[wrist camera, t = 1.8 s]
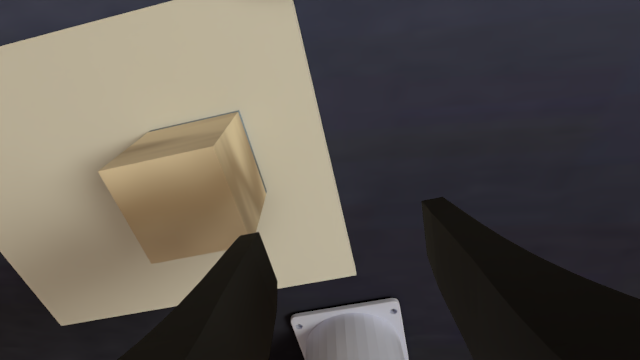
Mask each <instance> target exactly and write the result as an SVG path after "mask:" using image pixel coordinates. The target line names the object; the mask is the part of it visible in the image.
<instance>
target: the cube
mask: <svg viewBox="0 0 640 360" xmlns="http://www.w3.org/2000/svg"><path fill="white" fill-rule="evenodd" d="M98 173H99V174H100V176H101V178H102V180H103V181H104V183H105V185H106V187H107V188H108V190H109V192H110V193H111V195H112V197H113V199H114V200H115V202H116V204H117V205H118V207H119V209H120V211H121V212H122V214H123V216H124V218H125V219H126V221H127V223H128V224H129V226H130V228H131V230H132V231H133V233H134V235H135V237H136V238H137V240H138V242H139V243H140V245H141V247H142V249H143V250H144V252H145V254H146V255H147V257H148V259H149V261H150V262H151V264H154V263H160V262H165V261H170V260H176V259H181V258H187V257H192V256H197V255H203V254H208V253H213V252H219V251H224V250H228V248H229V247H230V246H231V245H232V244H233V243H234V241H235V240H236V239H237V238H238V237H239V236H240V235H245V234H251V233H256V230H257V227H258V223H259V219H260V216H261V212H262V208H263V205H264V201H265V197H266V193H267V190H266V187H265V184H264V181H263V179H262V176H261V173H260V170H259V167H258V164H257V161H256V158H255V155H254V152H253V149H252V146H251V143H250V140H249V137H248V134H247V131H246V129H245V126H244V123H243V120H242V117H241V114H240V111H239V110H238V111H233V112H229V113H225V114H220V115H216V116H211V117H207V118H203V119H198V120H194V121H189V122H185V123H181V124H176V125H172V126H167V127H163V128H159V129H154V130H150V131H149V132H148V133H146V134H145V135H144V136H143V137H141V138H140V139H139V140H137V141H136V142H135V143H134V144H132V145H131V146H130V147H128V148H127V149H126V150H125V151H123V152H122V153H121V154H119V155H118V156H117V157H116V158H114V159H113V160H112V161H110V162H109V163H108V164H107V165H105V166H104V167H103V168H101V169H100V170H99V171H98Z"/></svg>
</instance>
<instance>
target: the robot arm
mask: <svg viewBox="0 0 640 360" xmlns="http://www.w3.org/2000/svg"><path fill="white" fill-rule="evenodd" d="M422 211H423V220H424V230H425V239H426V248H427V256H428V259H429V262H430V265H431V268H432V271H433V274H434V276H435V279H436V282H437V285H438V287H439V289H440V291H441V293H442V295H443V298H444V300H445V302H446V304H447V306H448V308H449V310H450V312H451V314H452V316H453V318H454V320H455V322H456V324H457V326H458V328H459V330H460V332H461V334H462V336H463V339H464V341H465V343H466V345H467V347H468V349H469V351H470V353H471V355H472V357H473V359H474V360H640V299H638V298H635V297H632V296H629V295H627V294H624V293H621V292H619V291H616V290H614V289H611V288H609V287H606V286H604V285H601V284H598V283H596V282H593V281H591V280H588V279H586V278H584V277H581V276H579V275H577V274H574V273H572V272H570V271H568V270H566V269H563V268H561V267H559V266H557V265H555V264H553V263H551V262H549V261H546V260H544V259H542V258H540V257H538V256H536V255H534V254H532V253H531V252H529V251H527V250H525V249H523V248H521V247H520V246H518V245H516V244H514V243H512V242H511V241H509V240H507V239H505V238H504V237H502V236H500V235H499V234H497V233H495V232H494V231H492V230H491V229H489V228H488V227H486V226H484V225H483V224H481V223H480V222H478V221H477V220H475V219H474V218H472V217H471V216H469V215H468V214H466V213H465V212H464V211H462V210H461V209H459V208H458V207H456V206H455V205H454V204H452V203H451V202H449V201H448V200H446V199H445V198H443V197H440V198H435V199H430V200H424V201H422ZM277 283H278V281H277V278H276V276H275V273H274V270H273V268H272V265H271V262H270V260H269V257H268V254H267V252H266V249H265V247H264V244H263V241H262V239H261V236H260V233H259V232H256V233H251V234H245V235H240V236H239V237H238V238H237V239H236V240H235V241H234V243H233V244H232V245H231V246H230V247H229V248H228V250H227V251H226V252H225V253H224V254H223V255H222V257H221V258H220V259H219V260H218V261H217V263H216V264H215V265H214V266H213V267H212V268H211V269H210V271H209V272H208V273H207V274H206V275H205V276H204V278H203V279H202V280H201V281H200V282H199V283H198V284H197V285H196V286H195V288H194V289H193V290H192V291H191V292H190V293H189V294H188V295H187V296H186V297H185V298H184V299H183V300H182V301H181V302H180V303H179V305H178V306H177V307H176V308H175V309H174V310H173V311H172V312H171V313H170V314H169V315H168V316H167V317H166V318H165V319H164V320H163V321H161V322H160V323H159V324H158V325H157V326H156V327H155V328H154V329H153V330H152V331H151V332H150V333H148V334H147V335H146V336H145V337H144V338H143V339H142V340H141V341H139V342H138V343H137V344H136V345H135V346H134V347H132V348H131V349H130V350H129V351H127V352H126V353H125V354H124V355H123V356H121V357H120V358H119V359H118V360H269V355H270V349H271V343H272V337H273V331H274V325H275V319H276V312H277ZM392 309H394V310H392ZM298 324H300V325H298ZM291 325H292V327H293V330H294V333H295V335H296V338H297V340H298V343H299V346H300V348H301V351H302V354H303V356H304V359H305V360H409V358H408V353H407V347H406V341H405V335H404V329H403V323H402V317H401V311H400V305H399V301H398V300H397V299H395V298H388V299H382V300H376V301H370V302H364V303H358V304H351V305H345V306H339V307H333V308H327V309H321V310H315V311H309V312H303V313H296V314H293V315H292V316H291Z"/></svg>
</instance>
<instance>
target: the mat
mask: <svg viewBox="0 0 640 360" xmlns="http://www.w3.org/2000/svg"><path fill="white" fill-rule="evenodd" d="M238 110H239V111H240V114H241V117H242V120H243V123H244V126H245V129H246V131H247V134H248V137H249V140H250V143H251V146H252V149H253V152H254V155H255V158H256V161H257V164H258V167H259V170H260V173H261V176H262V179H263V181H264V184H265V187H266V190H267V193H266V197H265V201H264V205H263V208H262V212H261V216H260V219H259V223H258V227H257V230H256V232H259V233H260V236H261V239H262V241H263V244H264V247H265V249H266V252H267V254H268V257H269V260H270V262H271V265H272V268H273V270H274V273H275V276H276V278H277V281H278V283H277V289H278V288H284V287H290V286H296V285H302V284H308V283H313V282H319V281H325V280H331V279H337V278H342V277H348V276H354V275H356V268H355V264H354V260H353V256H352V251H351V247H350V243H349V238H348V234H347V230H346V225H345V221H344V217H343V213H342V208H341V204H340V200H339V195H338V191H337V187H336V182H335V178H334V174H333V170H332V165H331V161H330V157H329V152H328V148H327V144H326V139H325V135H324V131H323V127H322V122H321V118H320V114H319V109H318V105H317V101H316V96H315V92H314V88H313V84H312V79H311V75H310V71H309V66H308V62H307V58H306V53H305V49H304V45H303V41H302V36H301V32H300V28H299V23H298V19H297V15H296V10H295V6H294V2H293V0H173V1H169V2H165V3H162V4H158V5H154V6H150V7H147V8H143V9H139V10H135V11H132V12H128V13H124V14H120V15H117V16H113V17H109V18H105V19H102V20H98V21H94V22H90V23H86V24H83V25H79V26H75V27H71V28H68V29H64V30H60V31H56V32H53V33H49V34H45V35H41V36H38V37H34V38H30V39H26V40H23V41H19V42H15V43H11V44H7V45H4V46H0V252H1V253H2V254H3V256H4V257H5V258H6V259H7V260H8V262H9V263H10V264H11V265H12V267H13V268H14V269H15V270H16V271H17V273H18V274H19V275H20V276H21V277H22V279H23V280H24V281H25V282H26V284H27V285H28V286H29V287H30V288H31V290H32V291H33V292H34V293H35V295H36V296H37V297H38V298H39V299H40V301H41V302H42V303H43V304H44V306H45V307H46V308H47V309H48V310H49V312H50V313H51V314H52V315H53V316H54V318H55V319H56V320H57V321H58V323H59V324H60V325H61V326H63V325H69V324H75V323H81V322H87V321H92V320H98V319H104V318H110V317H116V316H121V315H127V314H133V313H139V312H145V311H151V310H156V309H162V308H168V307H174V306H178V305H179V303H180V302H181V301H182V300H183V299H184V298H185V297H186V296H187V295H188V294H189V293H190V292H191V291H192V290H193V289H194V288H195V286H196V285H197V284H198V283H199V282H200V281H201V280H202V279H203V278H204V276H205V275H206V274H207V273H208V272H209V271H210V269H211V268H212V267H213V266H214V265H215V264H216V263H217V261H218V260H219V259H220V258H221V257H222V255H223V254H224V253H225V252H226V251H227V250H224V251H219V252H213V253H208V254H203V255H197V256H192V257H187V258H181V259H176V260H170V261H165V262H160V263H154V264H151V262H150V261H149V259H148V257H147V255H146V254H145V252H144V250H143V249H142V247H141V245H140V243H139V242H138V240H137V238H136V237H135V235H134V233H133V231H132V230H131V228H130V226H129V224H128V223H127V221H126V219H125V218H124V216H123V214H122V212H121V211H120V209H119V207H118V205H117V204H116V202H115V200H114V199H113V197H112V195H111V193H110V192H109V190H108V188H107V187H106V185H105V183H104V181H103V180H102V178H101V176H100V174H99V173H98V171H99V170H100V169H101V168H103V167H104V166H105V165H107V164H108V163H109V162H110V161H112V160H113V159H114V158H116V157H117V156H118V155H119V154H121V153H122V152H123V151H125V150H126V149H127V148H128V147H130V146H131V145H132V144H134V143H135V142H136V141H137V140H139V139H140V138H141V137H143V136H144V135H145V134H146V133H148V132H149V131H150V130H154V129H159V128H163V127H167V126H172V125H176V124H181V123H185V122H189V121H194V120H198V119H203V118H207V117H211V116H216V115H220V114H225V113H229V112H233V111H238Z"/></svg>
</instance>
